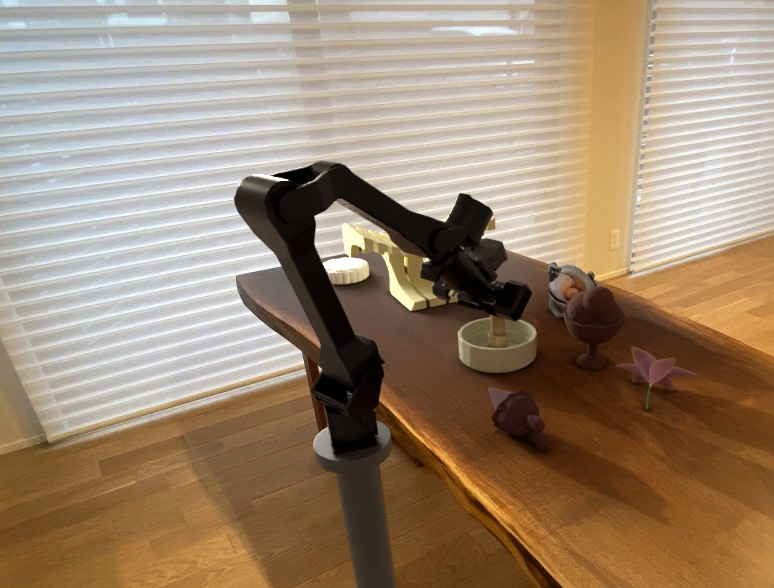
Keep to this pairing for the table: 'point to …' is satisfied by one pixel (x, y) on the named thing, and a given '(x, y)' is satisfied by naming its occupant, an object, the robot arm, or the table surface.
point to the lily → (654, 370)
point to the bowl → (497, 359)
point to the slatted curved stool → (397, 265)
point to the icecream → (518, 415)
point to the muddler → (497, 333)
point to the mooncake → (346, 270)
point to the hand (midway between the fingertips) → (502, 312)
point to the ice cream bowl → (593, 322)
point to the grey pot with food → (566, 285)
